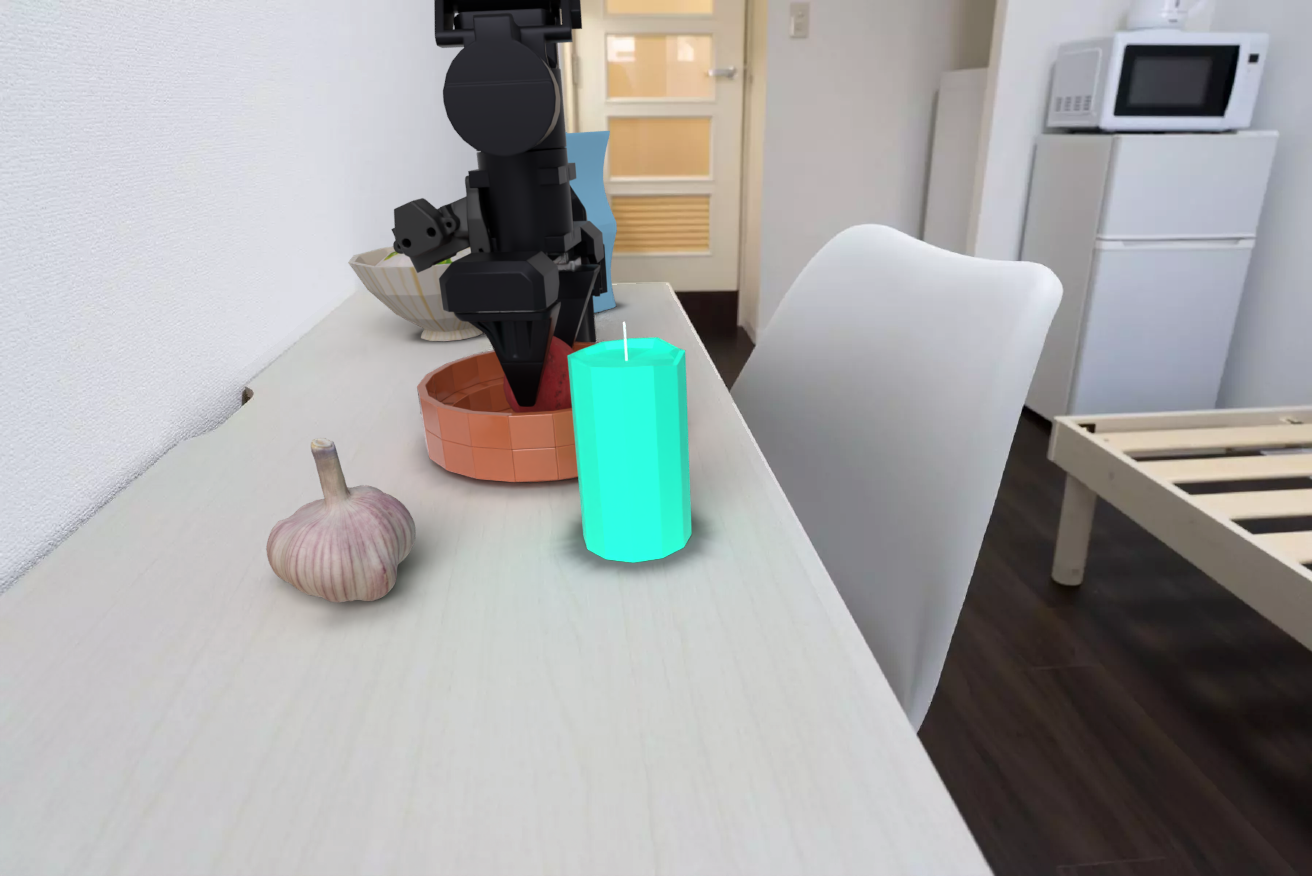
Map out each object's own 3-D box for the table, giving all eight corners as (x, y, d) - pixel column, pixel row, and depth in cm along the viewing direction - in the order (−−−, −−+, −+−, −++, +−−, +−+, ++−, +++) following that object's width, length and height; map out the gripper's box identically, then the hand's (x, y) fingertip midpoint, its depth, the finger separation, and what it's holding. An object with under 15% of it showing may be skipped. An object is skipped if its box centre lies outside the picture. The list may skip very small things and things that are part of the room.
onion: (576, 448, 57) (566, 333, 54) (497, 445, 58) (483, 333, 55) (599, 418, 62) (591, 313, 59) (525, 416, 63) (514, 313, 60)
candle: (610, 573, 42) (593, 344, 38) (566, 527, 47) (546, 319, 43) (712, 543, 45) (706, 324, 40) (660, 502, 50) (650, 303, 45)
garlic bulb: (406, 616, 39) (378, 461, 36) (248, 630, 39) (206, 474, 36) (432, 540, 46) (410, 405, 44) (298, 551, 46) (266, 415, 43)
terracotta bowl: (585, 387, 71) (580, 330, 70) (719, 440, 58) (717, 372, 57) (391, 439, 62) (380, 374, 60) (499, 516, 49) (489, 437, 47)
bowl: (575, 321, 95) (568, 231, 91) (452, 365, 80) (437, 260, 76) (453, 307, 105) (442, 226, 101) (323, 345, 90) (305, 251, 86)
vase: (621, 305, 101) (610, 130, 94) (574, 318, 96) (559, 134, 89) (576, 298, 106) (563, 132, 99) (529, 311, 101) (511, 135, 93)
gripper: (452, 148, 63) (478, 349, 68) (331, 164, 45) (379, 431, 51) (597, 142, 61) (611, 348, 67) (529, 156, 44) (555, 432, 50)
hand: (544, 384), depth 59 cm, fingers open, 9 cm apart
